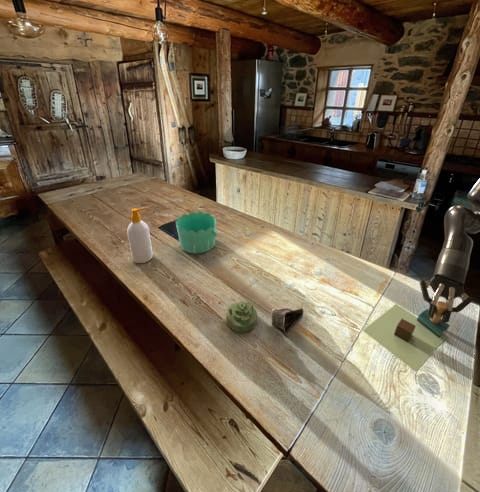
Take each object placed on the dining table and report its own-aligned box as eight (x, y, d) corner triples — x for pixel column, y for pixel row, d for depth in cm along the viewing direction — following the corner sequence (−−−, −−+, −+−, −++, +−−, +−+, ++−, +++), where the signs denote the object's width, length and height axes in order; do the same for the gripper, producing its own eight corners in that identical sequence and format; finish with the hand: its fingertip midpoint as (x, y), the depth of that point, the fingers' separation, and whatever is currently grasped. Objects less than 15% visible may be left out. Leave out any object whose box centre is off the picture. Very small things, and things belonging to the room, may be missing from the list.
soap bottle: (155, 260, 116) (148, 211, 106) (132, 265, 112) (122, 215, 102) (153, 250, 123) (146, 203, 113) (132, 254, 120) (122, 206, 109)
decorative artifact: (234, 304, 94) (221, 325, 85) (234, 288, 91) (220, 309, 82) (261, 313, 90) (249, 336, 82) (262, 297, 87) (250, 320, 79)
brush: (424, 314, 88) (434, 293, 81) (446, 331, 83) (459, 310, 76) (416, 320, 86) (426, 299, 80) (438, 338, 81) (451, 317, 75)
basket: (171, 242, 129) (168, 218, 123) (202, 229, 140) (200, 207, 135) (192, 260, 116) (191, 234, 111) (225, 245, 127) (224, 221, 122)
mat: (395, 305, 94) (395, 303, 94) (446, 338, 82) (447, 336, 82) (361, 331, 84) (362, 330, 84) (415, 373, 72) (415, 371, 72)
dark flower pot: (287, 304, 95) (269, 295, 87) (305, 309, 90) (288, 301, 82) (279, 331, 91) (261, 326, 83) (298, 339, 87) (279, 333, 79)
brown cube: (398, 327, 85) (401, 318, 83) (412, 335, 82) (415, 325, 80) (393, 334, 82) (397, 325, 81) (407, 342, 80) (411, 333, 78)
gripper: (476, 277, 82) (462, 332, 78) (423, 261, 89) (408, 310, 85) (485, 272, 76) (470, 332, 72) (427, 255, 83) (411, 308, 79)
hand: (436, 320), depth 79 cm, fingers closed on brush, 2 cm apart
